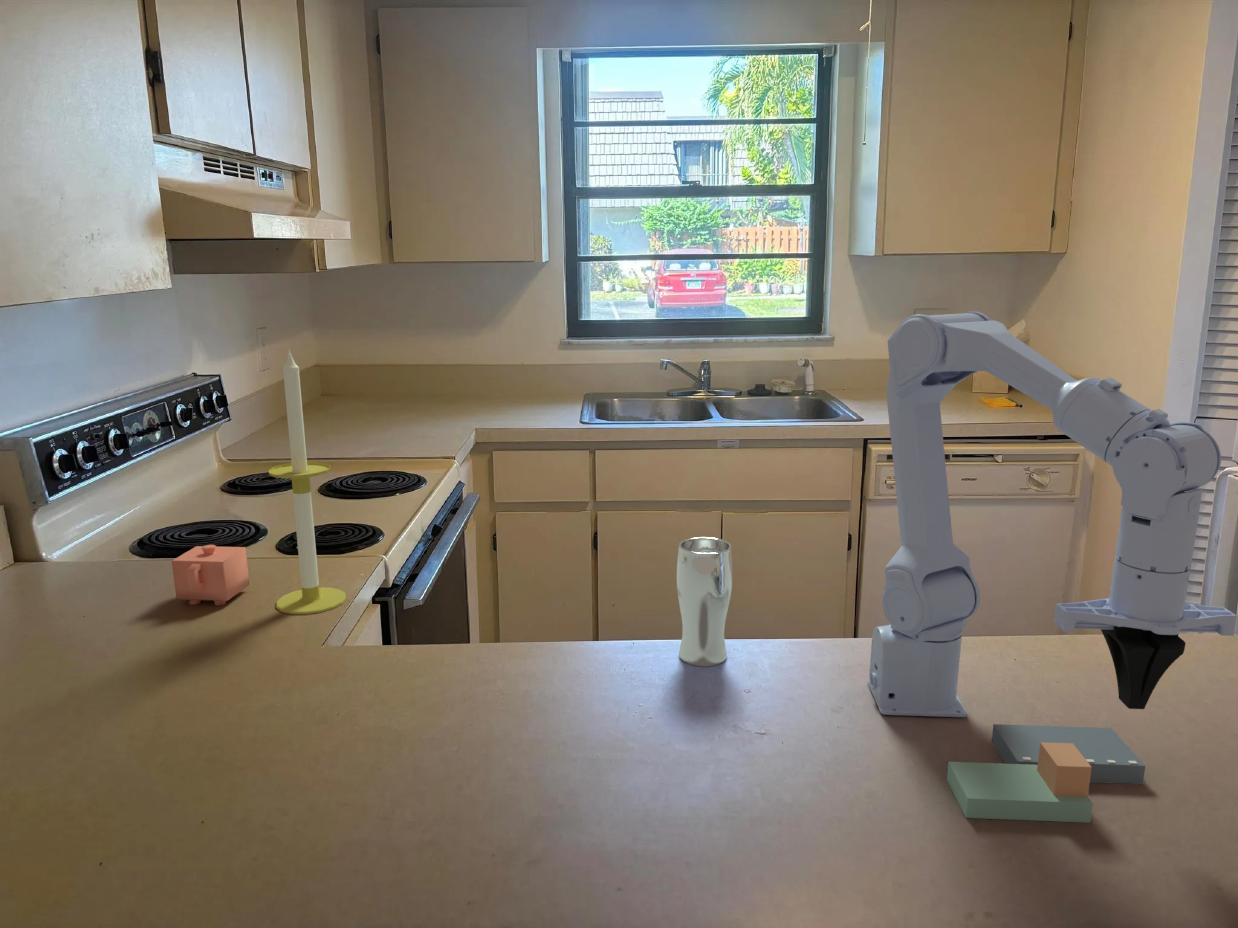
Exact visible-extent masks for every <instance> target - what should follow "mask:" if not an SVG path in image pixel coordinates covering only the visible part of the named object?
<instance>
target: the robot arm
mask: <svg viewBox="0 0 1238 928" xmlns="http://www.w3.org/2000/svg"><path fill="white" fill-rule="evenodd" d="M887 349H888V350H887V351H888V360H889V374H888V379H887V384H886V403H887V405H886V406H887V412H888V413H887V414H888V421H889V422H888V423H889V433H890V441H891V442H890V444H891V454H892V462H893V463H892V465H893V473H894V474H893V475H894V484H895V493H896V494H895V495H896V504H897V512H898V514H897V515H898V523H899V534H900V535H899V536H900V543H901V544H900V547H899V549H898V550H897V551H896V553H895V554H894V555H893V556H892V558H891V559H890V560H889V562H888V563H887V564H886V566H885V567H884V573H885V583H884V588H883V591H882V595H881V605H882V609H883V612H884V616H885V618H886V620H887V622H888V623H889V624H886V625H879V626H875V627H874V628H873V630H872V636H871V645H870V646H871V647H870V662H869V675H868V677H869V678H868V679H867V684H868V686H869V689H870V691H871V694H872V697H873V698H874V700H875V703H876V705H877V707H878V710H879V712H880V713H881V714H882V715H884V716H908V717H909V716H913V717H919V716H920V717H940V718H941V717H946V718H948V717H949V718H967V717H968V714H969V713H968V711H967V710H966V707H965V705H963V702H962V701H961V700H960V698H959V697H958V695H957V692H958V684H959V683H958V682H959V681H958V680H959V671H960V659H961V650H962V649H961V648H962V638H963V630H964V629H966V628H967V622H968V621H967V619H969V618H971V617H972V616H973V615H975V613H976V612H977V611H978V609H979V606H980V603H981V592H980V588H979V585H978V583H977V581H976V579H975V576H974V574H973V572H972V569H971V561H970V557H969V555H968V554H967V553H965V552H964V551H963V550H962V549H961V548H960V547H958V546H957V545H956V544H955V543H954V538H953V529H952V527H953V526H952V520H951V518H952V517H951V507H950V497H949V487H948V476H947V465H946V454H945V446H944V436H943V435H944V433H943V426H942V423H943V422H942V416H941V415H942V414H941V412H942V411H941V402H942V401H943V400H944V399H945V397H947V395H948V394H949V393H950V392H951V391H952V390H953V389H954V388H955V386H956V385H957V384H958V383H960V382H962V381H964V380H965V379H968V378H970V377H971V376H972V375H974V374H975V373H978V372H986V373H988V374H990V375H992V376H994V377H995V378H996V379H998V380H1000V381H1002V382H1004V383H1005V384H1007V385H1008V386H1011V387H1012V388H1014V389H1016V390H1017V391H1019V392H1021V393H1022V394H1025V395H1026V396H1028V397H1029V398H1031V399H1033V400H1034V401H1036V402H1038V403H1040V404H1042V405H1043V406H1045V407H1046V408H1048V409H1050V410H1051V412H1052V422H1053V426H1054V427H1055V428H1056V430H1058V431H1059V432H1061V434H1063V435H1065V436H1067V437H1069V439H1071V440H1073V441H1074V442H1075V443H1077V444H1079V445H1080V446H1082V447H1083V448H1085V449H1086V450H1087V451H1089V452H1091V453H1092V454H1093V455H1095V456H1096V457H1098V458H1099V459H1101V460H1102V461H1104V462H1105V463H1107V464H1108V465H1110V466H1111V467H1112V471H1113V472H1112V473H1113V475H1114V478H1115V479H1116V482H1117V483H1118V485H1119V487H1120V489H1121V500H1120V501H1121V502H1120V505H1121V509H1120V518H1119V525H1118V531H1117V532H1118V533H1117V540H1116V547H1115V555H1114V560H1113V569H1112V577H1111V581H1110V582H1111V583H1110V591H1109V598H1108V597H1107V598H1099V599H1094V600H1093V599H1091V600H1086V601H1085V600H1084V601H1078V602H1066V603H1065V602H1059V603H1058V602H1057V603H1056V604H1055V613H1054V621H1053V623H1054V624H1055V625H1056V626H1057V627H1058V628H1059V629H1060V630H1061V631H1062V632H1064V633H1065V632H1067V633H1068V632H1069V633H1071V632H1072V633H1073V632H1075V631H1076V630H1100V631H1101V633H1102V636H1103V637H1104V639H1105V642H1106V645H1107V647H1108V649H1109V653H1110V656H1111V658H1112V662H1113V666H1114V670H1115V675H1116V682H1117V689H1118V690H1117V692H1118V699H1119V700H1120V702H1121V703H1122V704H1123V705H1124V706H1125V707H1126V708H1127V709H1129V710H1145V708H1146V707H1147V704H1148V702H1149V700H1150V697H1151V695H1152V693H1153V691H1154V690H1155V688H1156V686H1157V684H1158V682H1159V681H1160V680H1161V678H1162V677H1163V675H1164V674H1165V673H1166V671H1167V670H1168V669H1169V668H1170V667H1171V665H1173V663H1175V661H1177V659H1179V658H1180V657H1181V656H1182V655H1184V653H1185V649H1186V641H1185V640H1183V638H1181V637H1180V636H1179V635H1180V634H1179V633H1180V632H1185V633H1187V632H1189V633H1190V632H1191V633H1217V634H1218V635H1220V636H1224V637H1225V636H1229V637H1230V636H1231V637H1233V636H1235V630H1236V626H1237V625H1236V623H1237V619H1238V618H1237V617H1238V615H1236V614H1235V613H1233V612H1232V611H1231V610H1229V609H1227V608H1226V607H1225V606H1211V605H1210V606H1209V605H1202V604H1194V603H1186V600H1187V593H1188V587H1189V580H1190V573H1191V568H1192V562H1193V555H1194V550H1195V542H1196V536H1197V529H1198V524H1199V518H1200V517H1199V515H1200V510H1201V503H1202V496H1203V491H1204V489H1203V488H1201V487H1203V486H1205V485H1207V484H1208V483H1210V482H1211V481H1212V480H1214V478H1215V477H1216V476H1217V474H1218V472H1219V470H1220V467H1221V463H1222V455H1221V449H1220V446H1219V444H1218V443H1217V441H1216V440H1215V438H1214V437H1213V436H1212V434H1210V433H1209V432H1208V431H1207V430H1205V429H1204V428H1203V427H1202V425H1200V424H1199V423H1196V422H1190V421H1179V422H1170V421H1169V420H1168V417H1169V414H1168V413H1167V412H1165V411H1163V410H1162V409H1160V408H1157V409H1151V408H1150V407H1148V406H1146V405H1144V404H1142V403H1141V402H1139V401H1137V400H1136V399H1134V398H1133V397H1131V396H1129V395H1128V394H1126V393H1124V392H1123V391H1121V388H1122V386H1123V383H1121V382H1119V381H1118V380H1116V379H1114V378H1113V377H1108V378H1107V377H1106V378H1102V379H1101V378H1099V377H1096V376H1093V377H1092V376H1091V377H1085V378H1082V379H1079V380H1077V379H1076V378H1075V377H1073V376H1071V375H1070V374H1069V373H1067V372H1065V370H1063V369H1061V368H1060V367H1058V365H1056V364H1054V363H1053V362H1051V361H1050V360H1049V359H1047V358H1046V357H1045V356H1043V355H1041V353H1039V352H1038V351H1036V350H1034V349H1033V348H1032V347H1030V346H1029V345H1027V344H1026V343H1025V342H1024V341H1022V340H1020V339H1018V338H1017V337H1016V336H1015V335H1013V334H1012V333H1010V331H1009V330H1008V329H1007V327H1006V326H1005V324H1004V323H1002V322H1000V321H997V320H994V319H991V318H990V317H989V316H988V315H986V314H985V313H983V312H980V311H966V312H964V313H949V314H948V313H945V314H930V315H926V314H920V313H919V314H918V313H917V314H913V315H910V316H908V317H907V318H905V319H904V320H903V321H902V322H901V323H900V324H899V325H898V327H897V328H896V329H895V331H893V333H892V334H891V336H890V337H889V338H888V340H887Z"/></svg>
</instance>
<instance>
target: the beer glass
mask: <svg viewBox="0 0 1238 928" xmlns="http://www.w3.org/2000/svg"><path fill="white" fill-rule="evenodd" d="M732 555H733V553H732V544H731V543H730V542H729V541H726V540H724V539H722V538H719V537H718V538H717V537H711V536H710V537H709V536H699V537H696V536H695V537H690V538H686V539H683V540H681V541H680V542H679V543H678V554H677V564H676V591H677V597H678V598H677V599H678V604H679V605H678V606H679V611H680V616H681V622H682V632H681V633H682V637H681V642H680V645H679V652H678V656H679V658H680V659H681V660H682V662H684V663H686V664H689V665H692V666H694V667H695V666H696V667H705V668H706V667H707V668H708V667H714V666H718V665H720V664H722V663H724V662H725V661H726V659H727V656H728V655H727V647H726V640H725V627H726V626H725V625H726V620H727V615H728V610H729V605H730V601H731V594H732V589H733V556H732Z"/></svg>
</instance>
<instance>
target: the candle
mask: <svg viewBox="0 0 1238 928" xmlns="http://www.w3.org/2000/svg"><path fill="white" fill-rule="evenodd" d="M282 372H283V382H284V385H283V386H284V395H285V405H286V406H285V407H286V414H287V415H286V417H287V427H288V439H289V451H290V463H285V464H284V463H283V464H279V465H276V466H273V467H271V468H269V469H268V475H269V476H270V477H273V478H277V479H291V486H292V499H293V509H294V519H295V520H294V521H295V522H294V523H295V530H296V541H297V551H298V563H299V574H300V575H299V576H300V585H301V589H299V590H294V591H291V592H289V593H287V594H283V595H282V596H281V597H279V598H278V599H277V601H276V603H275V604H276V605H275V607H276V609H277V610H278V611H280V612H281V613H284V614H288V615H313V614H319V613H323V612H327V611H330V610H333V609H336V608H337V607H340V606H341V605H343V604H344V602H345V601H346V600H347V596H346V595H347V594H346V592H345V591H343V590H341V589H339V588H335V587H326V586H325V587H324V586H323V587H322V586H321V587H320V582H319V571H318V570H319V569H318V559H317V558H318V557H317V548H316V547H317V546H316V535H315V524H314V514H313V513H314V512H313V500H312V489H311V479H310V477H316V476H321V475H323V474H326V473H328V472H329V471H331V470H332V469H331V464H330V463H329V464H328V463H326V462H319V461H308V459H307V458H308V457H307V449H306V448H307V447H306V438H305V436H306V435H305V423H304V413H303V401H302V400H303V399H302V391H301V390H302V389H301V379H300V378H301V376H300V366H298V365H297V364H296V362H295V360H294V358H293V355H292V353H291V350H290V349H288V352H287V358H286V362H285V364H284V366H283V367H282Z"/></svg>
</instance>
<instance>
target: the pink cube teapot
mask: <svg viewBox="0 0 1238 928" xmlns="http://www.w3.org/2000/svg"><path fill="white" fill-rule="evenodd" d="M171 566H172V568H171V569H172V575H173V583H174V589H175V590H174V591H175V598H176V600H181V601H182V600H187V601H188V605H190V606H191V605H192V606H193V605H198V604H201V602H202V601H213V602H214V603H213V604H214V606H223V605H226V604H227V601H229V600H231V599H232V598H233V597H235V596H236V595H239V594H240V592H241V591H243V590H245V588H247V587H248V586H249V585H250V577H249V567H248V559H247V548H246V546H217V545H215V544H207V545H202V546H201V545H200V546H199V545H196V546H194V547H193V548H191V549H190V550H188V551H186V552H184V553H182V554H180V555H179V556H177V557H176V558H174V559H173V560H171Z"/></svg>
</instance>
